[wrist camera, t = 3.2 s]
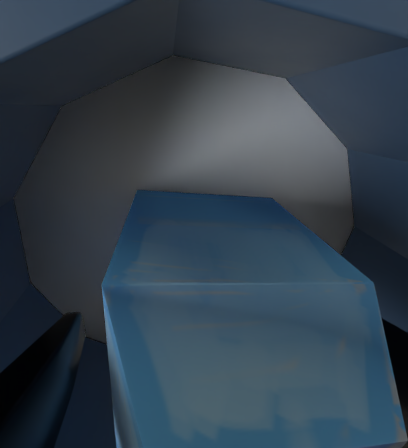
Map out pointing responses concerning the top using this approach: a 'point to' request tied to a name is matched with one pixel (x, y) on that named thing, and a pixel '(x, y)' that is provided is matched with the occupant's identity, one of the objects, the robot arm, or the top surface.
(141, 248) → the perfume bottle
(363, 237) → the blue round bin
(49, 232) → the top surface
